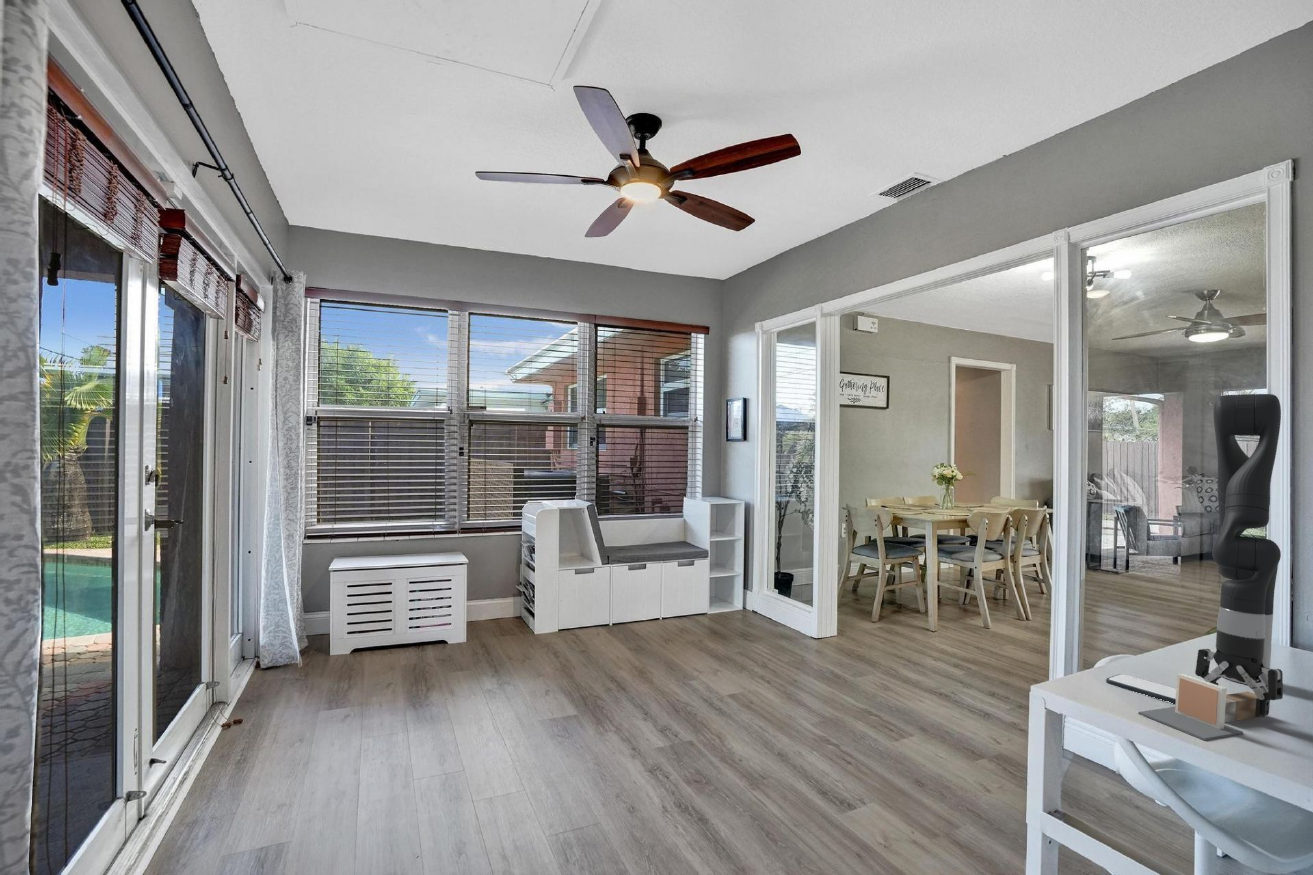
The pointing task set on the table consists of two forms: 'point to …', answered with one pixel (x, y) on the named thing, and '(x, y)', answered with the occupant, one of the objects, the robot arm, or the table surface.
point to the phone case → (1143, 687)
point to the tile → (1201, 700)
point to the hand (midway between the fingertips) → (1235, 708)
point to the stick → (1240, 706)
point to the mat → (1189, 724)
